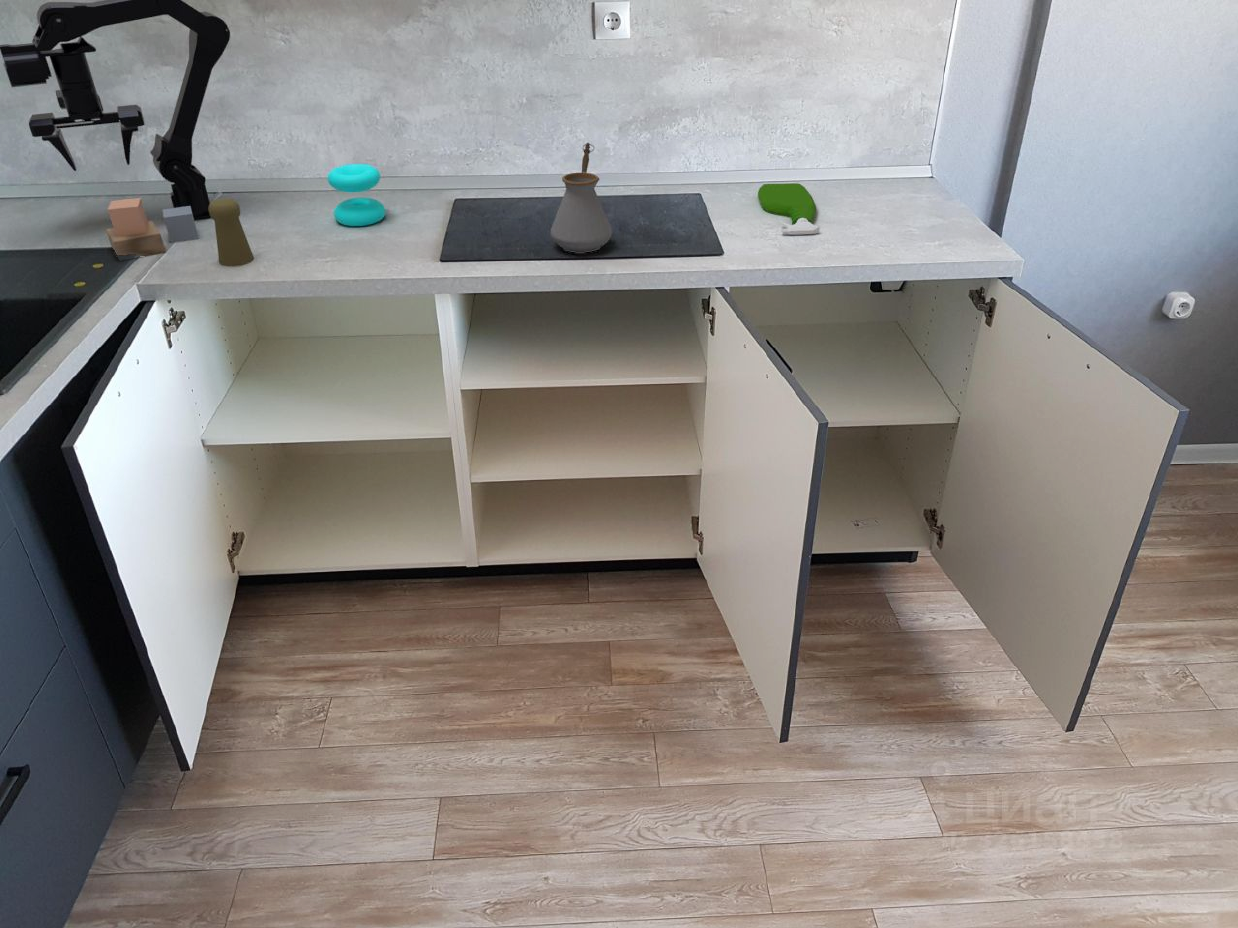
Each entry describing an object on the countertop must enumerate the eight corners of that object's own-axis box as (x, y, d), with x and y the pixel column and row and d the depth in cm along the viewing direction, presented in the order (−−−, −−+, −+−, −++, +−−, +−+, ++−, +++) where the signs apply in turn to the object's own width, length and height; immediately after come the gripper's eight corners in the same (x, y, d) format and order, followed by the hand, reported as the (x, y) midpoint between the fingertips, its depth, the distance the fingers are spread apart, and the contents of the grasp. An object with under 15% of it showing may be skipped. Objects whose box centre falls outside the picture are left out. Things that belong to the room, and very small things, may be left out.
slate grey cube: (196, 231, 185) (190, 205, 182) (198, 239, 181) (192, 213, 178) (169, 234, 183) (162, 209, 180) (171, 243, 179) (163, 217, 176)
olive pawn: (242, 251, 175) (228, 192, 169) (260, 259, 172) (246, 199, 166) (212, 261, 171) (196, 201, 165) (230, 269, 168) (215, 208, 162)
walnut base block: (157, 241, 181) (151, 221, 179) (166, 254, 175) (160, 233, 173) (112, 249, 177) (106, 229, 175) (120, 263, 172) (113, 242, 169)
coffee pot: (609, 258, 171) (608, 176, 163) (547, 257, 172) (542, 174, 164) (618, 218, 189) (618, 142, 181) (561, 217, 190) (558, 141, 181)
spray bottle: (804, 196, 201) (830, 239, 181) (753, 197, 201) (774, 240, 180) (806, 182, 199) (832, 224, 179) (754, 183, 199) (775, 225, 179)
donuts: (318, 177, 180) (336, 161, 188) (328, 227, 186) (345, 210, 194) (369, 178, 179) (385, 162, 187) (377, 229, 185) (392, 212, 193)
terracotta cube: (148, 224, 177) (140, 198, 174) (146, 233, 173) (137, 206, 170) (119, 227, 176) (111, 201, 173) (116, 236, 172) (107, 209, 169)
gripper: (130, 67, 180) (153, 150, 188) (20, 76, 173) (49, 162, 182) (131, 79, 171) (155, 165, 180) (15, 89, 165) (46, 178, 174)
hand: (102, 167), depth 179 cm, fingers open, 9 cm apart
